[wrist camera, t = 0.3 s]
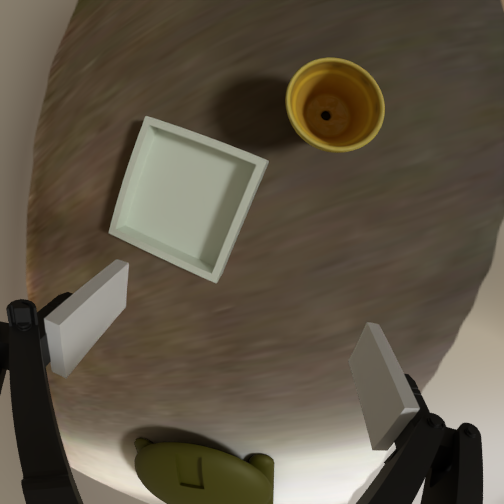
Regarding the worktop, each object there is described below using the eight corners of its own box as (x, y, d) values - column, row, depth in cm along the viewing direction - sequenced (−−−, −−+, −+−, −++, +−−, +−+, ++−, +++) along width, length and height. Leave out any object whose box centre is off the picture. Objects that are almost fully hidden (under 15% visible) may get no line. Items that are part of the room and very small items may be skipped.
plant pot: (288, 155, 40) (287, 151, 30) (284, 80, 37) (282, 56, 28) (366, 156, 38) (388, 153, 29) (361, 82, 36) (380, 59, 26)
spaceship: (273, 511, 62) (269, 540, 52) (162, 496, 65) (151, 521, 56) (275, 433, 53) (271, 472, 43) (127, 415, 56) (108, 445, 47)
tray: (156, 119, 40) (145, 115, 37) (269, 161, 40) (267, 160, 37) (120, 228, 45) (108, 232, 42) (221, 274, 45) (216, 283, 42)
